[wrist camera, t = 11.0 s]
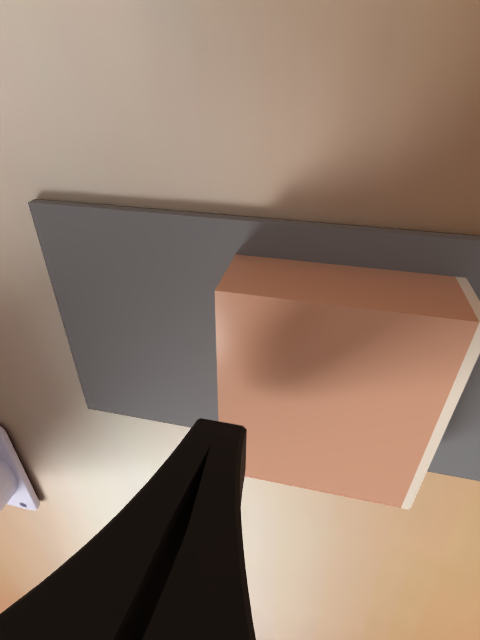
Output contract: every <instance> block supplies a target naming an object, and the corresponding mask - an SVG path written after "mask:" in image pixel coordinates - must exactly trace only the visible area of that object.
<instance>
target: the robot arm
mask: <svg viewBox="0 0 480 640" xmlns="http://www.w3.org/2000/svg"><path fill="white" fill-rule="evenodd" d="M246 437H247V429H246V428H245V427H244V426H242V425H236V424H231V423H225V422H219V421H214V420H208V419H203V418H200V419H198V420H197V421H196V422H195V423H194V425H193V426H192V428H191V429H190V430H189V432H188V433H187V435H186V436H185V437H184V439H183V440H182V441H181V443H180V444H179V445H178V446H177V448H176V449H175V450H174V451H173V453H172V454H171V455H170V456H169V458H168V459H167V460H166V461H165V462H164V464H163V465H162V466H161V467H160V468H159V469H158V471H157V472H156V473H155V474H154V475H153V477H152V478H151V479H150V480H149V481H148V482H147V483H146V485H145V486H144V487H143V488H142V489H141V490H140V491H139V492H138V493H137V494H136V495H135V496H134V497H133V498H132V500H131V501H130V502H129V503H128V504H127V505H126V506H125V507H124V508H123V509H122V510H121V511H120V512H119V513H118V514H117V515H116V516H115V517H114V518H113V519H112V520H111V521H110V522H109V523H108V524H107V525H106V526H105V527H104V528H103V529H102V530H101V531H100V532H99V533H98V534H96V535H95V536H94V537H93V538H92V539H91V540H90V541H89V542H88V543H87V544H86V545H85V546H83V547H82V548H81V549H80V550H79V551H78V552H77V553H75V554H74V555H73V556H72V557H71V558H70V559H68V560H67V561H66V562H65V563H64V564H63V565H62V566H60V567H59V568H58V569H57V570H56V571H54V572H53V573H52V574H51V575H50V576H48V577H47V578H46V579H45V580H44V581H42V582H41V583H40V584H39V585H37V586H36V587H35V588H33V589H32V590H31V591H29V592H28V593H27V594H26V595H24V596H23V597H22V598H20V599H19V600H18V601H16V602H15V603H14V604H13V605H11V606H10V607H9V608H7V609H6V610H5V611H3V612H2V613H1V614H0V640H256V638H255V632H254V626H253V620H252V614H251V607H250V600H249V593H248V585H247V577H246V569H245V560H244V550H243V539H242V526H241V497H242V489H243V482H244V476H245V470H246ZM6 504H8V505H12V506H16V507H20V508H24V509H28V510H33V511H34V510H37V509H38V507H39V506H40V502H39V500H38V498H37V496H36V494H35V491H34V489H33V487H32V485H31V483H30V481H29V479H28V477H27V475H26V473H25V471H24V468H23V466H22V464H21V462H20V460H19V458H18V456H17V454H16V452H15V450H14V448H13V445H12V443H11V441H10V439H9V437H8V435H7V433H6V431H5V430H4V429H3V428H2V427H1V426H0V512H1V511H2V509H3V508H4V507H5V505H6Z"/></svg>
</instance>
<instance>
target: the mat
mask: <svg viewBox="0 0 480 640" xmlns="http://www.w3.org/2000/svg"><path fill="white" fill-rule="evenodd" d="M28 204H29V207H30V211H31V214H32V218H33V221H34V225H35V228H36V231H37V235H38V238H39V242H40V245H41V249H42V252H43V256H44V259H45V262H46V266H47V269H48V273H49V276H50V280H51V283H52V286H53V290H54V293H55V297H56V300H57V304H58V307H59V311H60V314H61V317H62V321H63V324H64V328H65V331H66V335H67V338H68V341H69V345H70V348H71V352H72V355H73V359H74V362H75V366H76V369H77V372H78V376H79V379H80V383H81V386H82V390H83V393H84V397H85V400H86V403H87V407H88V408H89V409H94V410H99V411H105V412H110V413H116V414H121V415H126V416H132V417H137V418H143V419H148V420H153V421H159V422H164V423H169V424H175V425H180V426H186V427H191V428H192V426H193V425H194V423H195V422H196V421H197V420H198V419H200V418H203V419H208V420H214V421H218V388H217V354H216V319H215V289H216V287H217V286H218V284H219V282H220V280H221V279H222V277H223V275H224V273H225V272H226V270H227V268H228V266H229V265H230V263H231V261H232V259H233V258H234V256H235V254H237V255H247V256H257V257H267V258H277V259H287V260H296V261H306V262H316V263H326V264H336V265H346V266H356V267H366V268H375V269H385V270H395V271H405V272H415V273H425V274H435V275H445V276H455V277H464V278H467V280H468V282H469V283H470V285H471V287H472V288H473V290H474V292H475V294H476V295H477V297H478V299H479V301H480V236H473V235H461V234H449V233H437V232H425V231H413V230H401V229H389V228H377V227H365V226H353V225H341V224H329V223H317V222H305V221H293V220H281V219H269V218H257V217H245V216H233V215H221V214H209V213H197V212H185V211H173V210H161V209H149V208H137V207H125V206H113V205H101V204H89V203H77V202H65V201H53V200H41V199H35V200H32V201H30V202H28ZM427 471H428V472H434V473H439V474H444V475H450V476H455V477H460V478H466V479H471V480H477V481H480V354H479V356H478V358H477V361H476V363H475V365H474V367H473V369H472V372H471V374H470V376H469V378H468V381H467V383H466V385H465V387H464V390H463V392H462V394H461V396H460V399H459V401H458V403H457V405H456V408H455V410H454V412H453V414H452V416H451V419H450V421H449V423H448V425H447V428H446V430H445V432H444V434H443V437H442V439H441V441H440V443H439V446H438V448H437V450H436V452H435V454H434V457H433V459H432V461H431V463H430V466H429V468H428V470H427Z"/></svg>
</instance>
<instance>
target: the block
mask: <svg viewBox="0 0 480 640" xmlns="http://www.w3.org/2000/svg"><path fill="white" fill-rule="evenodd" d="M215 319H216V354H217V388H218V421H219V422H225V423H231V424H236V425H242V426H244V427H245V428H246V429H247V437H246V470H245V476H246V477H251V478H256V479H261V480H266V481H271V482H276V483H281V484H286V485H291V486H296V487H301V488H305V489H310V490H315V491H320V492H325V493H330V494H335V495H340V496H345V497H350V498H355V499H360V500H364V501H369V502H374V503H379V504H384V505H389V506H394V507H399V508H404V509H409V510H410V508H411V506H412V504H413V501H414V499H415V497H416V495H417V492H418V490H419V488H420V486H421V484H422V481H423V479H424V477H425V475H426V472H427V470H428V468H429V466H430V463H431V461H432V459H433V457H434V454H435V452H436V450H437V448H438V446H439V443H440V441H441V439H442V437H443V434H444V432H445V430H446V428H447V425H448V423H449V421H450V419H451V416H452V414H453V412H454V410H455V408H456V405H457V403H458V401H459V399H460V396H461V394H462V392H463V390H464V387H465V385H466V383H467V381H468V378H469V376H470V374H471V372H472V369H473V367H474V365H475V363H476V361H477V358H478V356H479V354H480V301H479V299H478V297H477V295H476V294H475V292H474V290H473V288H472V287H471V285H470V283H469V282H468V280H467V278H464V277H455V276H445V275H435V274H425V273H415V272H405V271H395V270H385V269H375V268H366V267H356V266H346V265H336V264H326V263H316V262H306V261H296V260H287V259H277V258H267V257H257V256H247V255H237V254H235V256H234V258H233V259H232V261H231V263H230V265H229V266H228V268H227V270H226V272H225V273H224V275H223V277H222V279H221V280H220V282H219V284H218V286H217V287H216V289H215Z"/></svg>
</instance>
